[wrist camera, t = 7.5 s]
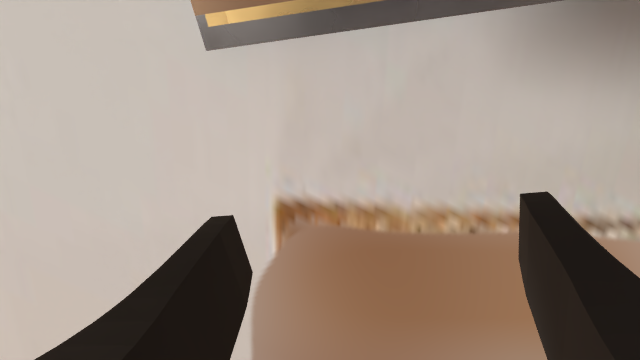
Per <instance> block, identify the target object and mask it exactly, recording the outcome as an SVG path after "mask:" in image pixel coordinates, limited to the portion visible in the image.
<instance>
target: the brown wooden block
mask: <svg viewBox="0 0 640 360" xmlns="http://www.w3.org/2000/svg"><path fill="white" fill-rule="evenodd" d="M287 1H294V0H191V4H192V7H193V10H194V13H195V16H197V15H204V14H210V13H216V12H223V11H229V10H236V9H242V8H249V7H255V6H261V5H268V4H274V3H281V2H287Z"/></svg>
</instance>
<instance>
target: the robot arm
mask: <svg viewBox="0 0 640 360" xmlns="http://www.w3.org/2000/svg"><path fill="white" fill-rule="evenodd" d="M519 263H520V267H521V273H522V278H523V283H524V288H525V292H526V297H527V300H528V303H529V306H530V309H531V312H532V315H533V317H534V321H535V324H536V327H537V330H538V333H539V336H540V339H541V342H542V344H543V348H544V350H545V353H546V356H547V359H548V360H640V278H639V277H638V276H636V275H635V274H634V273H633V272H631V271H630V270H629V269H628V268H626V267H625V266H624V265H623V264H622V263H620V262H619V261H618V260H617V259H616V258H615V257H613V256H612V255H611V254H610V253H609V252H608V251H607V250H606V249H604V247H602V246H601V245H600V244H599V243H598V242H597V241H596V240H595V239H594V238H593V237H592V236H591V235H590V234H589V233H588V232H587V231H585V230H584V229H583V228H582V227H581V226H580V225H579V224H578V223H577V221H576V220H575V219H574V218H573V217H572V216H571V215H570V214H569V213H568V212H567V211H566V210H565V209H564V208H563V207H562V206H561V205H560V204H559V202H558V201H557V200H556V199H555V198H554V197H553V196H552V195H551V194H550V193H548V192H538V193H525V194H520V222H519ZM252 273H253V272H252V269H251V266H250V263H249V260H248V257H247V254H246V251H245V249H244V246H243V243H242V240H241V237H240V234H239V231H238V228H237V225H236V222H235V219H234V216H233V215H230V216H217V217H211V218H210V219H209V220H208V221H207V222H205V223H204V224H203V225H202V226H201V227H200V228H199V229H198V230H197V231H196V232H195V233H194V234H193V235H192V236H191V237H190V238H189V239H188V240H187V241H186V242H185V243H184V244H183V245H182V246H181V247H180V248H179V249H178V250H177V251H176V252H175V253H174V254H173V255H172V256H171V257H170V258H169V259H168V260H167V261H166V262H165V263H164V264H163V265H162V266H161V267H160V268H159V269H157V270H156V271H155V272H154V273H153V274H152V275H151V276H150V277H149V278H147V279H146V280H145V281H144V282H143V283H142V284H141V285H140V286H139V287H137V288H136V289H135V290H134V291H133V292H132V293H131V294H129V295H128V296H127V297H126V298H125V299H123V300H122V301H121V302H120V303H118V304H117V305H116V306H115V307H113V308H112V309H111V310H109V311H108V312H107V313H105V314H104V315H103V316H101V317H100V318H99V319H97V320H96V321H95V322H93V323H92V324H90V325H89V326H87V327H86V328H84V329H83V330H81V331H80V332H78V333H77V334H75V335H74V336H72V337H71V338H69V339H68V340H66V341H65V342H63V343H62V344H60V345H58V346H57V347H55V348H53V349H52V350H50V351H48V352H47V353H45V354H43V355H42V356H40V357H38V358H36V359H35V360H230V358H231V354H232V351H233V348H234V345H235V342H236V339H237V336H238V333H239V330H240V327H241V323H242V320H243V317H244V314H245V311H246V307H247V302H248V297H249V292H250V286H251V279H252Z"/></svg>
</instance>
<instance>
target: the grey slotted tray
mask: <svg viewBox="0 0 640 360" xmlns="http://www.w3.org/2000/svg"><path fill="white" fill-rule="evenodd" d="M555 1H562V0H294V1H287V2H281V3H274V4H268V5H261V6H255V7H249V8H242V9H236V10H229V11H223V12H216V13H210V14H204V15H197V16H196V19H197V22H198V26H199V29H200V32H201V35H202V38H203V42H204V45H205V48H206V51H209V50H216V49H223V48H230V47H237V46H244V45H251V44H258V43H265V42H272V41H279V40H287V39H294V38H301V37H308V36H315V35H322V34H329V33H336V32H343V31H350V30H357V29H364V28H371V27H378V26H386V25H393V24H400V23H407V22H414V21H421V20H428V19H435V18H442V17H449V16H456V15H463V14H470V13H478V12H485V11H492V10H499V9H506V8H513V7H520V6H527V5H534V4H541V3H548V2H555Z"/></svg>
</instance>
